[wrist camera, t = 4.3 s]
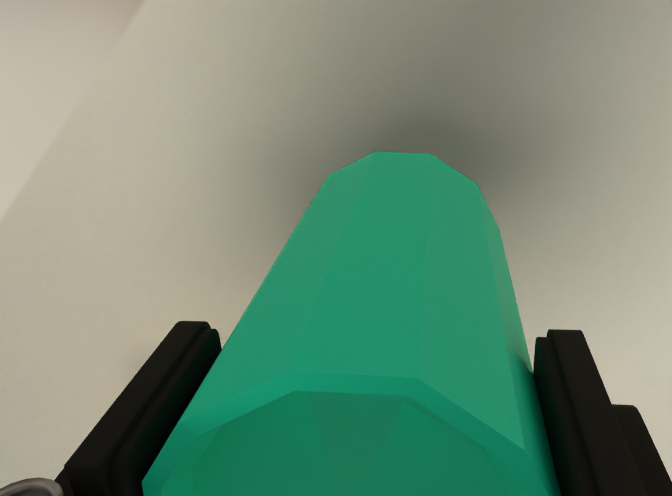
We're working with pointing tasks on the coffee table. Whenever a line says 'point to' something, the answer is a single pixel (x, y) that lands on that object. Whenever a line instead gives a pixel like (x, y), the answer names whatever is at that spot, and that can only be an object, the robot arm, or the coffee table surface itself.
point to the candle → (372, 356)
